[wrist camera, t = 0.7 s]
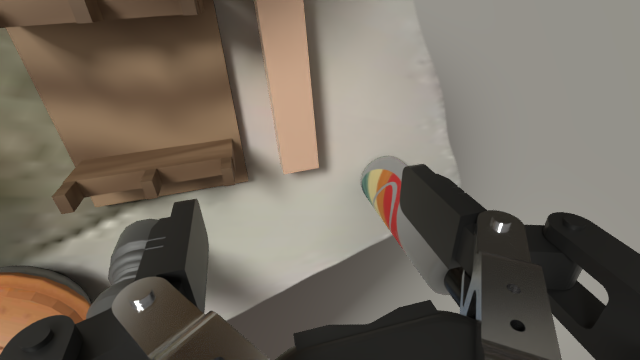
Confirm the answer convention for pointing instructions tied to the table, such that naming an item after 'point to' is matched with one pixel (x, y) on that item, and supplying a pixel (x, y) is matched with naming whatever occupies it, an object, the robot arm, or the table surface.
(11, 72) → the table surface
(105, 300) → the candle holder
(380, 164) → the lotion bottle
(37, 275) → the pie
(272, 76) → the strip
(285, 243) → the table surface
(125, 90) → the rack
